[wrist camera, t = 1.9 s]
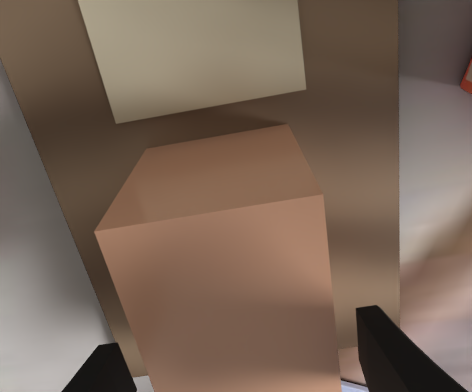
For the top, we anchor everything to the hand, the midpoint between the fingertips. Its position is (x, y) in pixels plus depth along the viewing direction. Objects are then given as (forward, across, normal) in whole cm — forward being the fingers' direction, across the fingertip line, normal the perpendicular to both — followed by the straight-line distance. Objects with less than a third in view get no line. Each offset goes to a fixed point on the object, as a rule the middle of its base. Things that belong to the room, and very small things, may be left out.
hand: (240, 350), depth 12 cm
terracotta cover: (+6, 0, 0) cm, 6 cm away
